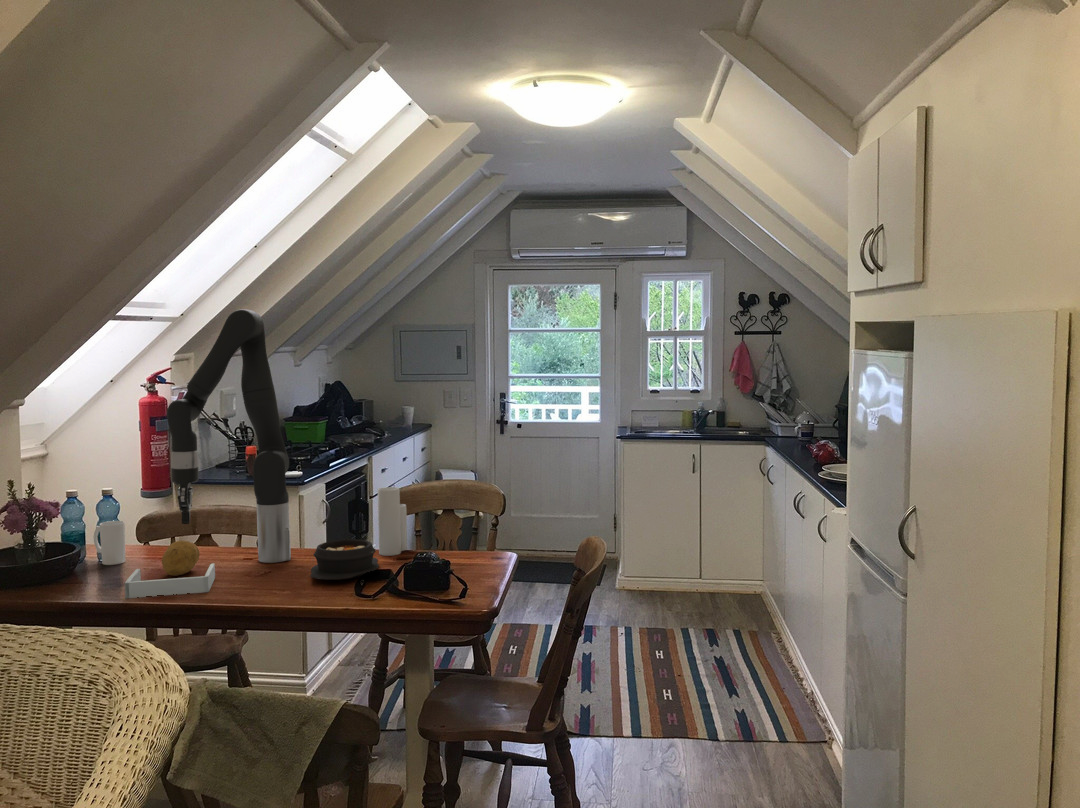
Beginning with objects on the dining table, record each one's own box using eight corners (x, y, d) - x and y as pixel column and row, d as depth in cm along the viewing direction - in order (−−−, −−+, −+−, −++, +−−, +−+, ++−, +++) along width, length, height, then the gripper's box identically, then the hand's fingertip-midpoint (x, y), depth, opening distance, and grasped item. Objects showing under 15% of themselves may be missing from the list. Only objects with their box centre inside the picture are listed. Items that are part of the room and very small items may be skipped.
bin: (215, 577, 240) (214, 563, 239) (208, 592, 225) (208, 576, 225) (136, 583, 235) (136, 568, 234) (125, 598, 220) (124, 583, 220)
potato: (150, 546, 238) (183, 543, 238) (173, 538, 251) (204, 535, 251) (154, 580, 238) (187, 577, 238) (176, 570, 251) (208, 567, 251)
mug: (131, 560, 261) (129, 521, 261) (115, 565, 255) (113, 525, 254) (103, 558, 264) (101, 520, 263) (86, 564, 257) (84, 524, 257)
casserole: (359, 587, 228) (358, 556, 227) (293, 585, 231) (292, 554, 230) (392, 564, 252) (392, 536, 252) (332, 562, 255) (331, 534, 255)
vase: (396, 556, 262) (395, 490, 261) (374, 555, 264) (372, 490, 262) (409, 547, 273) (408, 484, 272) (387, 547, 275) (386, 484, 273)
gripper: (195, 468, 252) (196, 527, 253) (201, 463, 265) (202, 519, 266) (167, 469, 250) (168, 528, 251) (174, 463, 263) (176, 520, 264)
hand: (186, 523), depth 259 cm, fingers closed
